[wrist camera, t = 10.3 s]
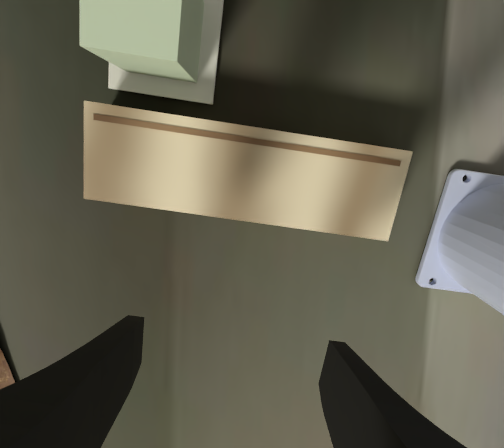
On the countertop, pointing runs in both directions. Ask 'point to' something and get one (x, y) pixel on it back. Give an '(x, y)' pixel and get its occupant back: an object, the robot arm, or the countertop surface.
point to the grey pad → (179, 88)
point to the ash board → (241, 172)
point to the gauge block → (145, 35)
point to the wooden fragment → (5, 372)
